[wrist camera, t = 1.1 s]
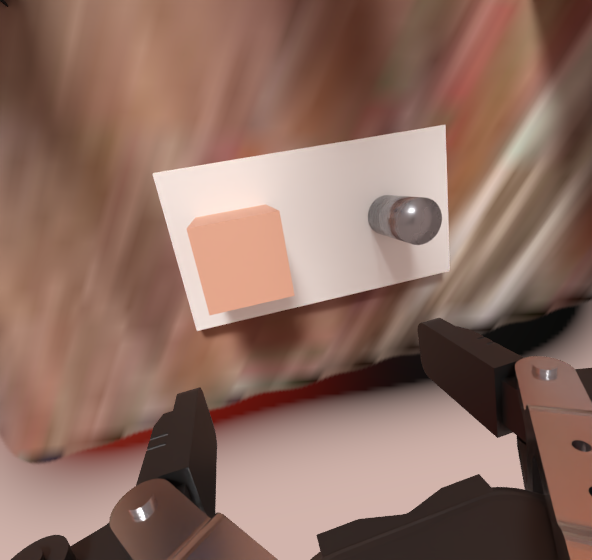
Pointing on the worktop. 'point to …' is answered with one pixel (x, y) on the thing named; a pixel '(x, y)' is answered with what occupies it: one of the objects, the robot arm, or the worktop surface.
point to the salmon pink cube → (241, 258)
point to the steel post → (405, 218)
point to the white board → (317, 214)
